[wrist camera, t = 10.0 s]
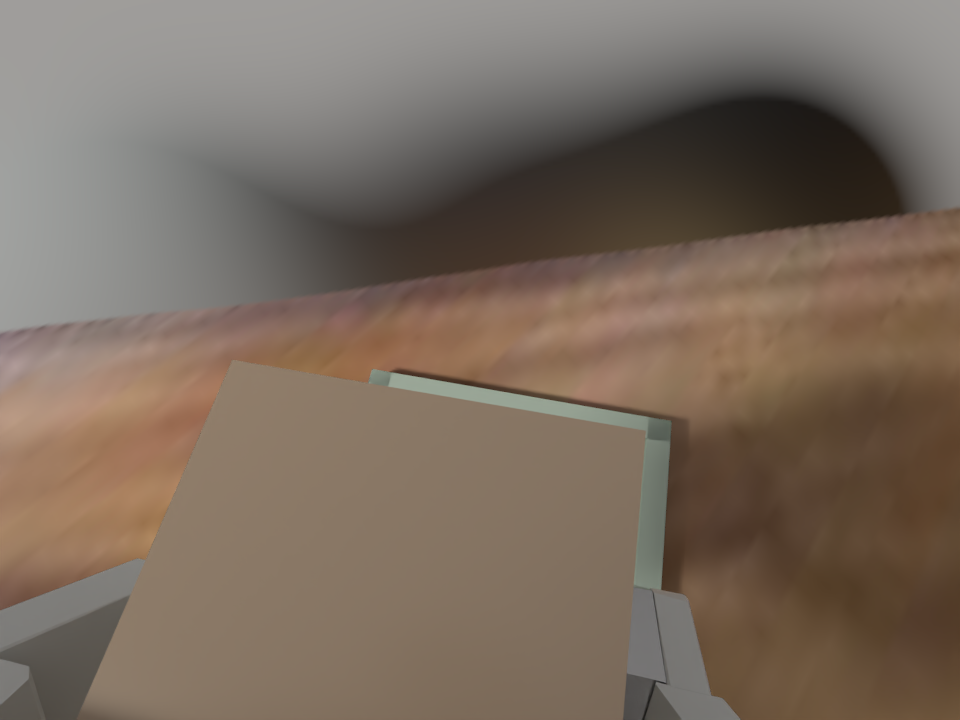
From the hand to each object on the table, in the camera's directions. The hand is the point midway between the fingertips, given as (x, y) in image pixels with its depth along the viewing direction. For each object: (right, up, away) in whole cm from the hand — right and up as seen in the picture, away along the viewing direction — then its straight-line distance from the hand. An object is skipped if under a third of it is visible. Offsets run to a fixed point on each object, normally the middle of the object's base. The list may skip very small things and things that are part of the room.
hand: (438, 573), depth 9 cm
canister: (0, -3, +4) cm, 5 cm away
